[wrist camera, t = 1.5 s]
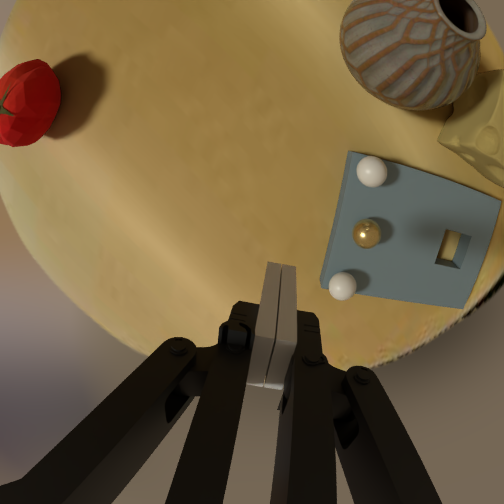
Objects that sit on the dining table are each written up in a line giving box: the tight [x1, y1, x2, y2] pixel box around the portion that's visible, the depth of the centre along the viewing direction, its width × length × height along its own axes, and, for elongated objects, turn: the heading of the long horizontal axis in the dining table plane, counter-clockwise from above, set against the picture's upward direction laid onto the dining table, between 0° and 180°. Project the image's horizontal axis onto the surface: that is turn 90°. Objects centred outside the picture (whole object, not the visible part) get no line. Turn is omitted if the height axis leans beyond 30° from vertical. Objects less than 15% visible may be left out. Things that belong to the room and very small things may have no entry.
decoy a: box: [357, 156, 387, 187], centre depth 27 cm, size 3×3×3 cm
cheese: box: [437, 69, 504, 188], centre depth 21 cm, size 10×11×10 cm
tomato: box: [0, 59, 61, 147], centre depth 26 cm, size 13×12×11 cm
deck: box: [320, 151, 501, 309], centre depth 31 cm, size 16×22×2 cm
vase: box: [339, 0, 486, 110], centre depth 17 cm, size 13×13×18 cm
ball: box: [352, 219, 381, 249], centre depth 29 cm, size 3×3×3 cm
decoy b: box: [329, 272, 357, 300], centre depth 32 cm, size 3×3×3 cm
